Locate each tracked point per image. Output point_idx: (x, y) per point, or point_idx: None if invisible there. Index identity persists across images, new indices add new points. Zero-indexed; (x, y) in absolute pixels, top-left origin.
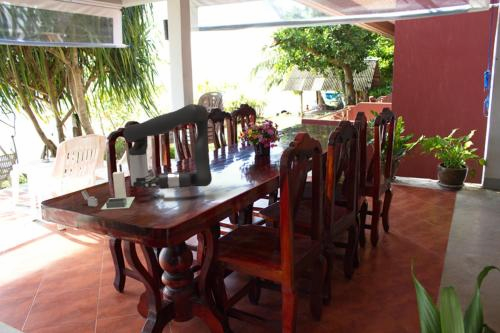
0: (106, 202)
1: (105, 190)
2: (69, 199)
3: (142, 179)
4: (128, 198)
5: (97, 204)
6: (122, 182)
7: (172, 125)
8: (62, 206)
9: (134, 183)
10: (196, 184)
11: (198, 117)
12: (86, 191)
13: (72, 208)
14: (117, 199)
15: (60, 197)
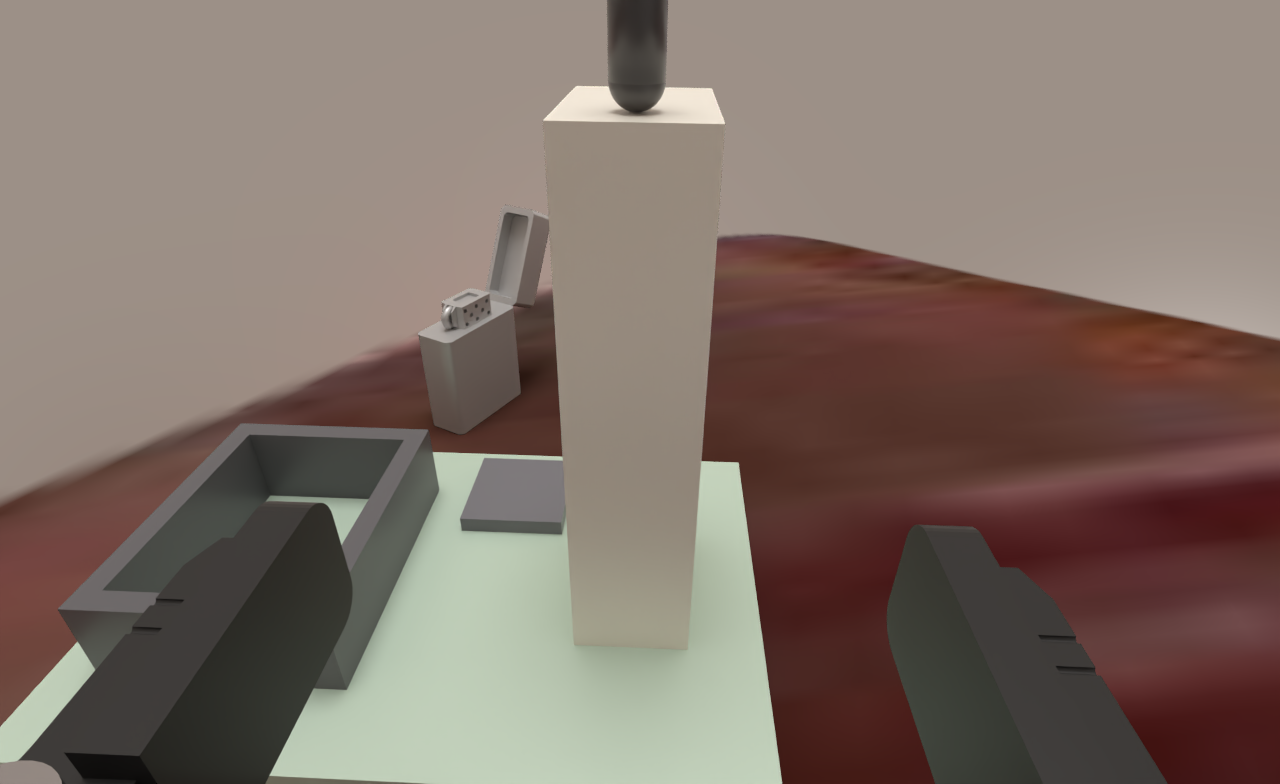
0: (250, 425)
1: (1199, 414)
2: (815, 286)
3: (990, 777)
4: (681, 685)
5: (452, 400)
6: (562, 344)
7: None
8: None
9: (215, 543)
10: None
11: None
12: (530, 227)
13: (543, 318)
14: (364, 516)
15: (870, 256)
